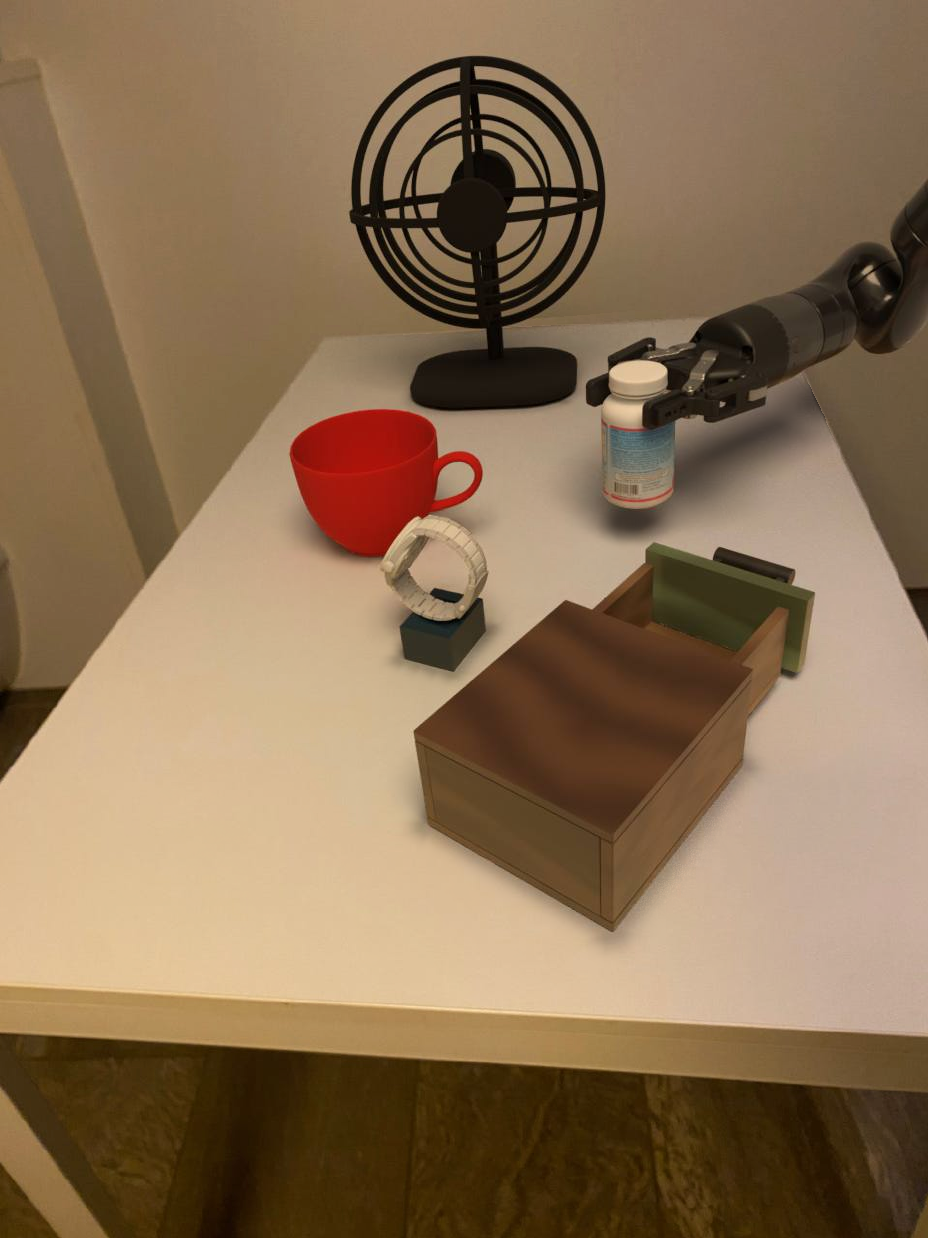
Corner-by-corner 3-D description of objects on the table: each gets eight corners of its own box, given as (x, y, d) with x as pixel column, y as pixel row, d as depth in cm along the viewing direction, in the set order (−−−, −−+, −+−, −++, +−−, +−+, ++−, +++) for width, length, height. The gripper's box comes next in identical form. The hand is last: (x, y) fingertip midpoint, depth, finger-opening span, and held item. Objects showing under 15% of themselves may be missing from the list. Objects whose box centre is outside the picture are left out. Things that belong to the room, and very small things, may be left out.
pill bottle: (688, 494, 83) (693, 369, 76) (635, 519, 80) (636, 392, 74) (639, 470, 87) (641, 350, 80) (587, 493, 85) (584, 371, 78)
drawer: (681, 581, 78) (684, 514, 74) (831, 631, 71) (843, 559, 67) (543, 714, 67) (539, 642, 63) (706, 788, 60) (712, 712, 56)
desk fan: (369, 422, 111) (314, 77, 90) (394, 363, 125) (351, 53, 104) (606, 413, 107) (605, 51, 86) (605, 354, 121) (604, 30, 100)
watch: (417, 614, 79) (400, 496, 73) (505, 635, 76) (495, 513, 69) (382, 653, 75) (360, 533, 69) (473, 677, 72) (460, 553, 65)
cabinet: (568, 690, 70) (565, 599, 65) (742, 765, 62) (753, 668, 57) (428, 825, 61) (412, 730, 56) (612, 932, 53) (613, 833, 48)
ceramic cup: (473, 582, 82) (462, 478, 76) (289, 572, 86) (265, 472, 80) (501, 506, 92) (494, 409, 86) (335, 501, 96) (318, 407, 90)
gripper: (820, 409, 82) (679, 476, 75) (694, 367, 92) (559, 423, 85) (831, 322, 77) (683, 385, 70) (698, 288, 87) (556, 340, 80)
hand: (616, 405), depth 77 cm, fingers closed on pill bottle, 6 cm apart
